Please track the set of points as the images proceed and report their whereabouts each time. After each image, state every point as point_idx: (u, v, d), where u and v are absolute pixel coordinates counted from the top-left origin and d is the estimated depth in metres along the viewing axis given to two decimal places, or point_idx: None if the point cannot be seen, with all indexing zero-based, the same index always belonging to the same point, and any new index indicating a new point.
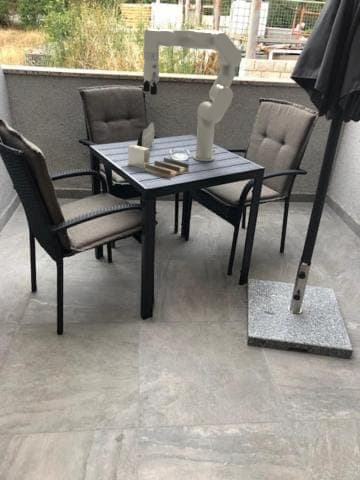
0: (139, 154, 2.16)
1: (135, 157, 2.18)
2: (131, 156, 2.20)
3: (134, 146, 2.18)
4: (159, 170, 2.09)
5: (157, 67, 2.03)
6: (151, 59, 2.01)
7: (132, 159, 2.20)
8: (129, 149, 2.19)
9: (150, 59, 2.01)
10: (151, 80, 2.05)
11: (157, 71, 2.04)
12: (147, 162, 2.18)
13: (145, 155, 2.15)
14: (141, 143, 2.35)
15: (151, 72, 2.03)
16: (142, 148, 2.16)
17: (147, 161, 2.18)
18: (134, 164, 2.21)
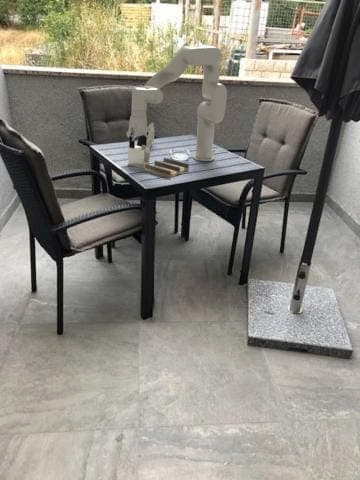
0: (139, 154, 2.16)
1: (135, 157, 2.18)
2: (131, 156, 2.20)
3: None
4: (159, 170, 2.09)
5: None
6: None
7: (132, 159, 2.20)
8: (129, 149, 2.19)
9: None
10: (145, 133, 2.17)
11: None
12: (147, 162, 2.18)
13: (145, 155, 2.15)
14: None
15: None
16: (142, 148, 2.16)
17: (147, 161, 2.18)
18: (134, 164, 2.21)
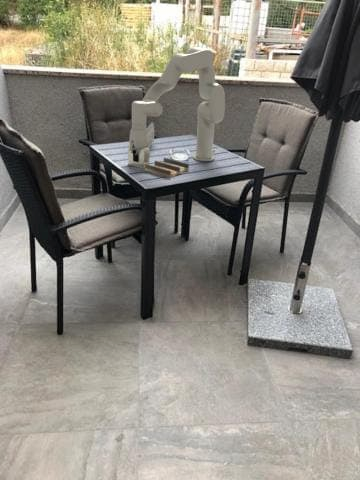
0: (139, 154, 2.16)
1: None
2: (131, 156, 2.20)
3: None
4: (159, 170, 2.09)
5: None
6: None
7: (132, 158, 2.20)
8: None
9: None
10: None
11: None
12: (147, 162, 2.18)
13: (145, 155, 2.15)
14: None
15: None
16: (142, 148, 2.16)
17: (147, 161, 2.18)
18: (134, 164, 2.20)
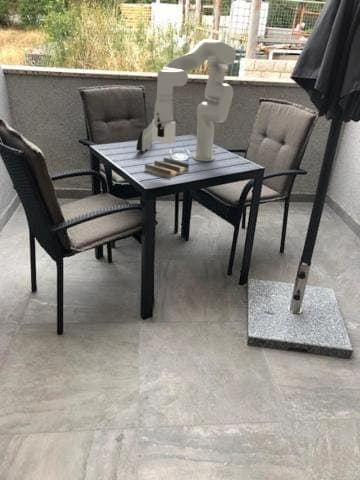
0: (164, 128, 2.01)
1: None
2: (156, 131, 2.04)
3: None
4: (159, 170, 2.09)
5: None
6: None
7: (156, 133, 2.05)
8: (153, 123, 2.03)
9: None
10: None
11: None
12: (173, 137, 2.03)
13: (171, 129, 2.00)
14: (141, 143, 2.35)
15: None
16: (167, 122, 2.01)
17: (173, 136, 2.03)
18: (158, 139, 2.05)
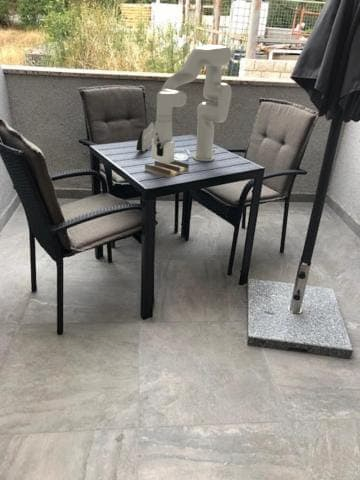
0: (163, 147, 2.05)
1: None
2: (155, 150, 2.08)
3: None
4: (159, 170, 2.09)
5: None
6: None
7: (156, 152, 2.09)
8: (153, 142, 2.08)
9: None
10: (169, 140, 2.08)
11: None
12: (172, 156, 2.07)
13: (170, 148, 2.04)
14: (141, 143, 2.35)
15: None
16: (167, 141, 2.05)
17: (172, 155, 2.07)
18: (158, 158, 2.09)
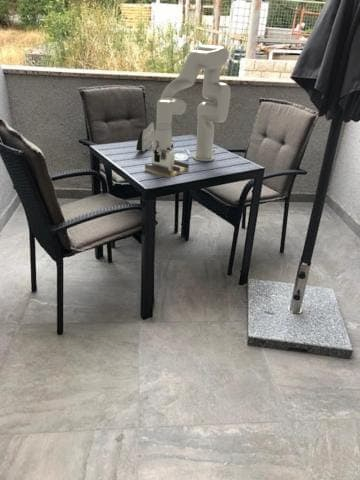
0: (163, 157, 2.07)
1: None
2: None
3: None
4: (159, 170, 2.09)
5: None
6: None
7: (156, 162, 2.11)
8: (153, 152, 2.10)
9: None
10: (170, 145, 2.11)
11: None
12: (172, 165, 2.10)
13: (170, 158, 2.06)
14: (141, 143, 2.35)
15: None
16: (166, 151, 2.07)
17: (172, 164, 2.10)
18: None
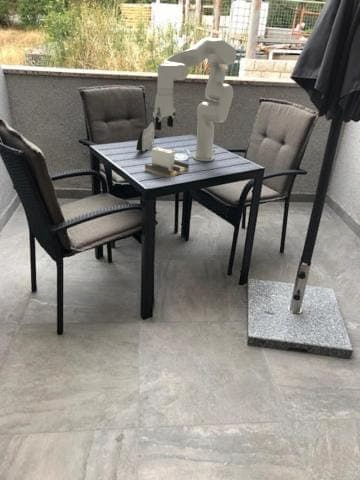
0: (163, 157, 2.07)
1: (159, 160, 2.10)
2: (155, 160, 2.11)
3: (158, 149, 2.10)
4: (159, 170, 2.09)
5: None
6: None
7: (156, 162, 2.11)
8: (153, 152, 2.10)
9: None
10: None
11: None
12: (172, 165, 2.10)
13: (170, 158, 2.06)
14: (141, 143, 2.35)
15: None
16: (166, 151, 2.07)
17: (172, 164, 2.10)
18: None
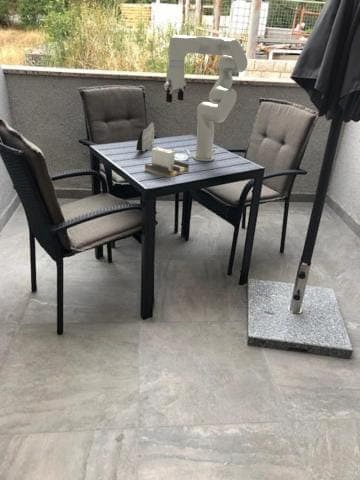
0: (163, 157, 2.07)
1: (159, 160, 2.10)
2: (155, 160, 2.11)
3: (158, 149, 2.10)
4: (159, 170, 2.09)
5: None
6: None
7: (156, 162, 2.11)
8: (153, 152, 2.10)
9: None
10: (182, 86, 2.07)
11: None
12: (172, 165, 2.10)
13: (170, 158, 2.06)
14: (141, 143, 2.35)
15: None
16: (166, 151, 2.07)
17: (172, 164, 2.10)
18: None
